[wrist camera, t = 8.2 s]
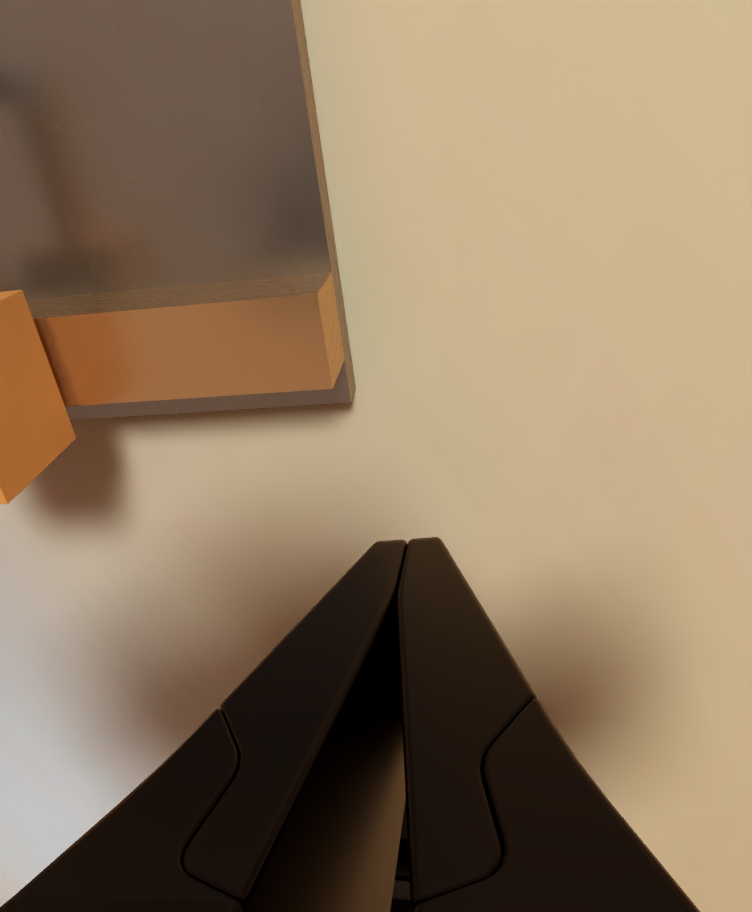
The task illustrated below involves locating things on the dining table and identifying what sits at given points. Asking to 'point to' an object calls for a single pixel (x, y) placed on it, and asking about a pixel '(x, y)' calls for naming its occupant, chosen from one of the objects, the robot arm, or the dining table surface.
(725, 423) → the dining table surface
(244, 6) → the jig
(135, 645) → the dining table surface
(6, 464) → the orange block with bar
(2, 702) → the dining table surface
